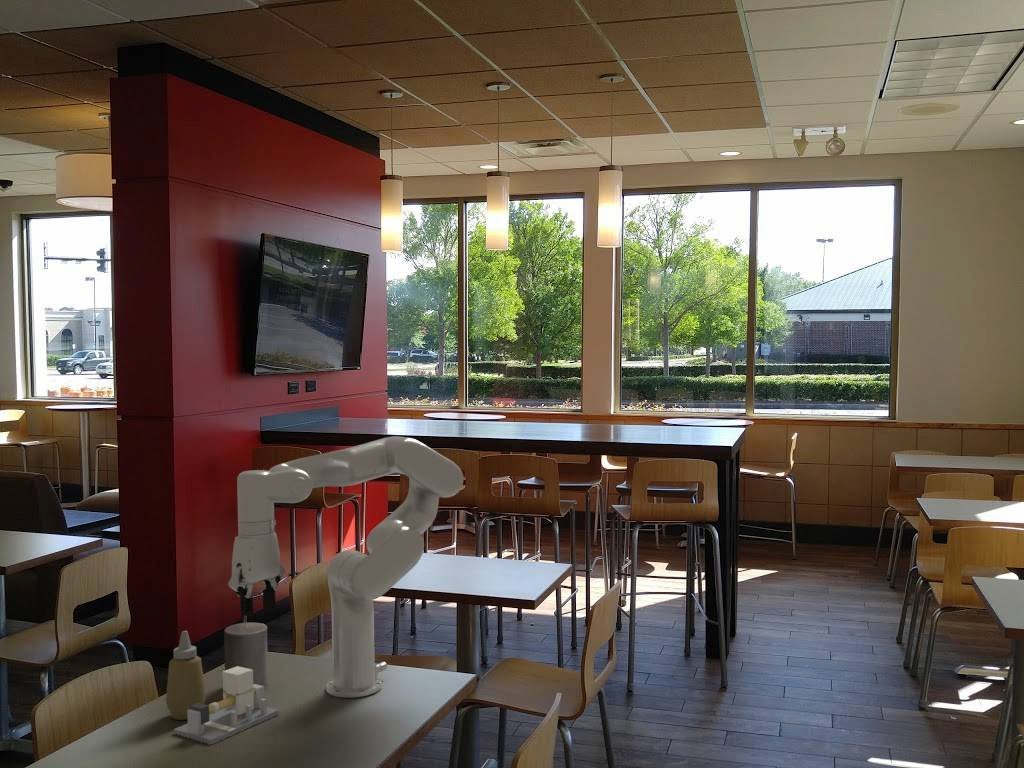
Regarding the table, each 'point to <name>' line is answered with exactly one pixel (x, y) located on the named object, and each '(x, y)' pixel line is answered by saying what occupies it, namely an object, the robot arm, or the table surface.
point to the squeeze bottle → (184, 679)
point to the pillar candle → (247, 649)
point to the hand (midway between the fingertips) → (258, 611)
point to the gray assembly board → (224, 718)
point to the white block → (238, 688)
